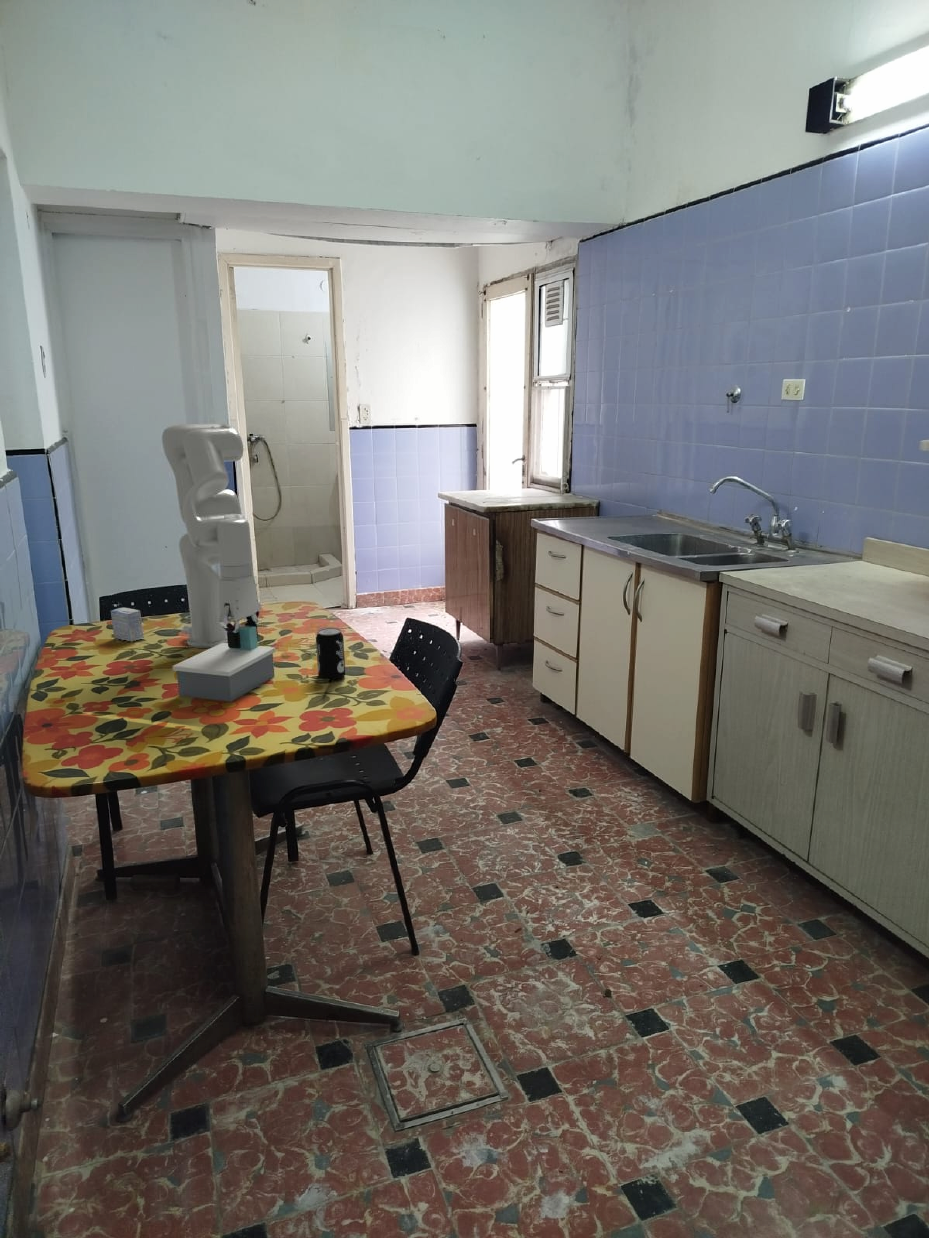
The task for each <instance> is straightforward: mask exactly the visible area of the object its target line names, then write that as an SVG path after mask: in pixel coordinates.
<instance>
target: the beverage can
mask: <svg viewBox="0 0 929 1238" xmlns="http://www.w3.org/2000/svg"><path fill="white" fill-rule="evenodd" d="M316 633H317V635H316V636H315V647H316V660H317V661H316V663H317V664H316V665H317V677H318V678H319V679H322V680H328V681H333V682H337V681H341V680H343V679H344V677H345V676H346V662H345V661H346V660H345V659H346V658H345V644H344V643H345V642H344V641H345V640H344V634H343V633H342V629H340V628H338V627H324V628H320V629H317V631H316Z"/></svg>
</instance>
